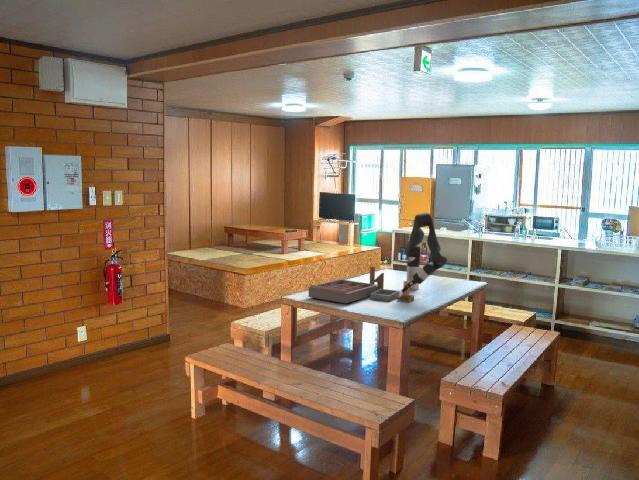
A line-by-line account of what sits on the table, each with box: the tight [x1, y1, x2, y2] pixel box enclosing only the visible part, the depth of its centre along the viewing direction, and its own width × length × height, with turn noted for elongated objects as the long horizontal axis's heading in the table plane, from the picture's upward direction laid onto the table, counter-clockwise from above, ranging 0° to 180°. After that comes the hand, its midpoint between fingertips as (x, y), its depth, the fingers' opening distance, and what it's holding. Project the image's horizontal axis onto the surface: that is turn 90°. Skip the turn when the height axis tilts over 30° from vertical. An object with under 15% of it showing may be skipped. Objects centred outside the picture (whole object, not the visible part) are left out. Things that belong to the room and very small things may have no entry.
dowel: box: [402, 280, 410, 297], centre depth 360 cm, size 4×4×13 cm
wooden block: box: [369, 265, 385, 291], centre depth 389 cm, size 4×11×18 cm, turn 54°
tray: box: [369, 288, 401, 303], centre depth 367 cm, size 20×14×4 cm
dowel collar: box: [397, 293, 415, 303], centre depth 360 cm, size 9×9×3 cm
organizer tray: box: [307, 279, 377, 304], centre depth 367 cm, size 32×40×10 cm
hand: (404, 290), depth 360 cm, fingers open, 8 cm apart
